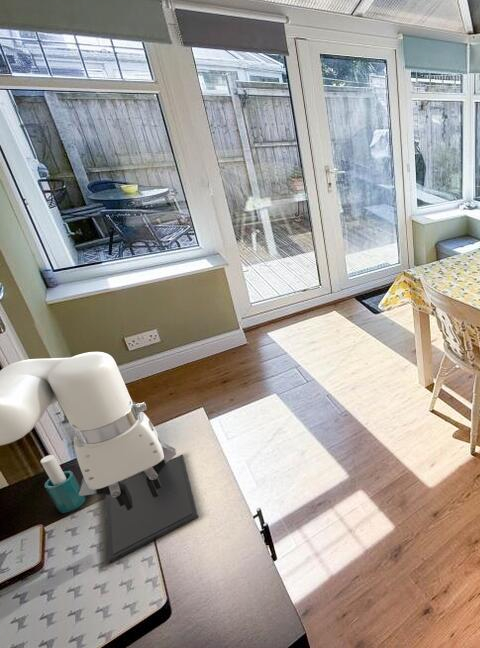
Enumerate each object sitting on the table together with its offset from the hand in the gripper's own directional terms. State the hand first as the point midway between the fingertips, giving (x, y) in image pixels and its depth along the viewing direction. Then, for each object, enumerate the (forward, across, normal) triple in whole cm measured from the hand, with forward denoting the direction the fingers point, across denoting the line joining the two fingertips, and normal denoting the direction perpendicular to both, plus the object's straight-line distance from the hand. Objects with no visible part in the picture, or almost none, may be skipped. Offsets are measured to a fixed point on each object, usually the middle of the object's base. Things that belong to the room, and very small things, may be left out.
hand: (142, 497), depth 76 cm
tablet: (+8, 0, -6) cm, 10 cm away
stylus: (+7, +12, -16) cm, 21 cm away
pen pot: (+8, +12, -16) cm, 21 cm away
